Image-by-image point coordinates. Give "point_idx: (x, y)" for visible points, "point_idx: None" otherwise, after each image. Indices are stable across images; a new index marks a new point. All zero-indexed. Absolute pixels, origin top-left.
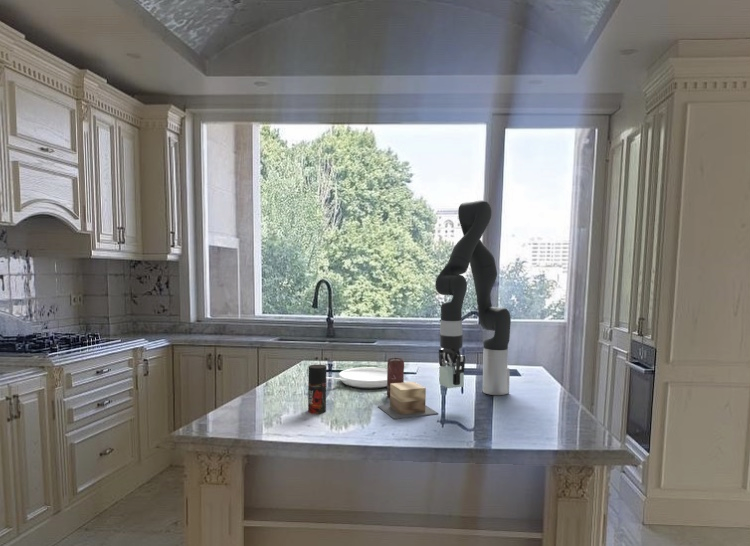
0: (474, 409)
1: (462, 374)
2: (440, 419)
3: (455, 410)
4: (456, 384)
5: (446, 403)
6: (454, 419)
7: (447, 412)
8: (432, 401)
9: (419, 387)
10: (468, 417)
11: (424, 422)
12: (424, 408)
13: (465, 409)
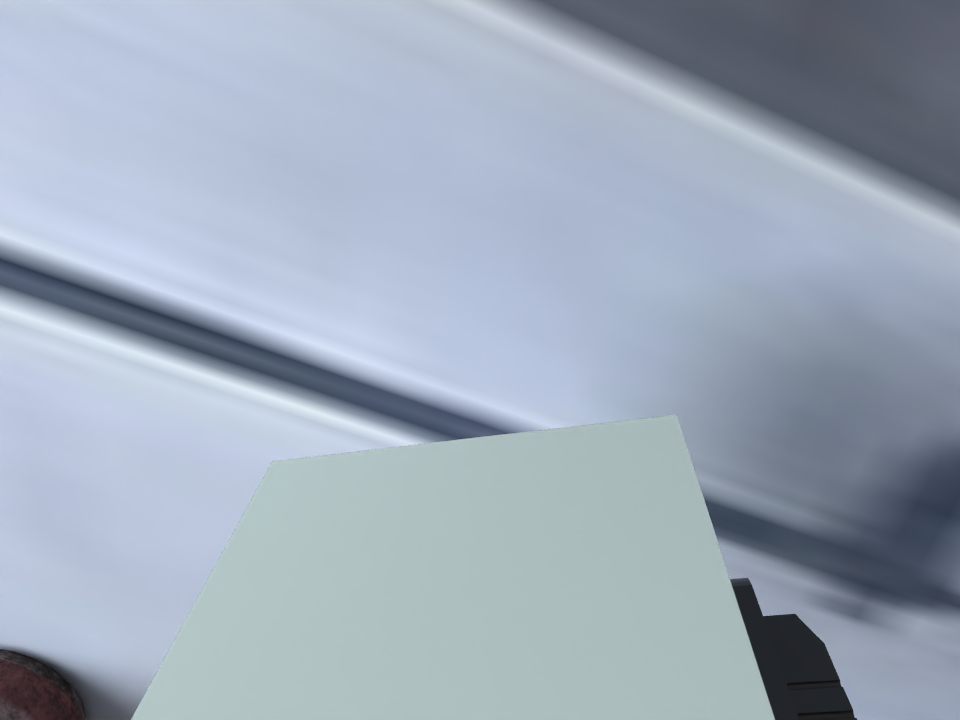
0: (560, 25)
1: (759, 698)
2: (817, 576)
3: (552, 318)
4: None
5: (242, 317)
6: (876, 453)
7: None
8: (160, 444)
9: None
10: (876, 269)
11: None
12: None
13: (535, 168)
